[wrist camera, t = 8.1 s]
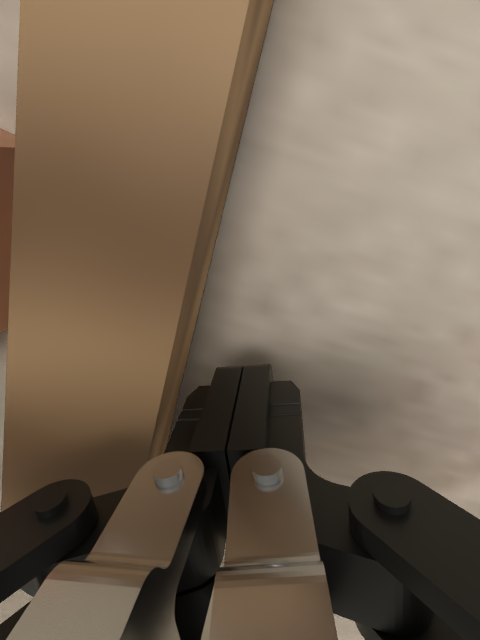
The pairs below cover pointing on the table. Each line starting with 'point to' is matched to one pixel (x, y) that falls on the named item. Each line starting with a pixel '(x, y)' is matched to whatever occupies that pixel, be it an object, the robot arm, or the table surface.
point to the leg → (115, 224)
